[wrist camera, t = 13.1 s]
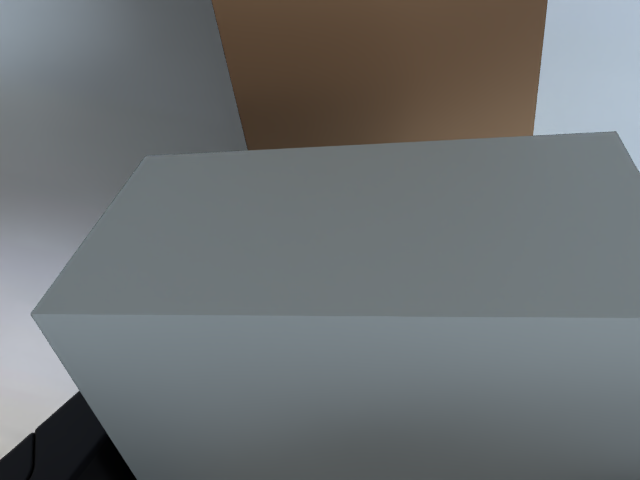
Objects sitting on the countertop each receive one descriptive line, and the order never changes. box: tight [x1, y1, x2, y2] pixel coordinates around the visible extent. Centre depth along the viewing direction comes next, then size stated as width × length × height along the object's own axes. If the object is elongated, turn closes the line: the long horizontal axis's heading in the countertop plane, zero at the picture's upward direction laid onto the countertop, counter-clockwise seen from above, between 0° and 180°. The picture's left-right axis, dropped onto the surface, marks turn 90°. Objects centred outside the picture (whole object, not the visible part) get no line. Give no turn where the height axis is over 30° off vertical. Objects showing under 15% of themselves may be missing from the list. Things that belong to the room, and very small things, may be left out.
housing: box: [212, 0, 548, 151], centre depth 10 cm, size 18×5×4 cm, turn 8°
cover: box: [31, 131, 640, 480], centre depth 8 cm, size 7×6×3 cm
